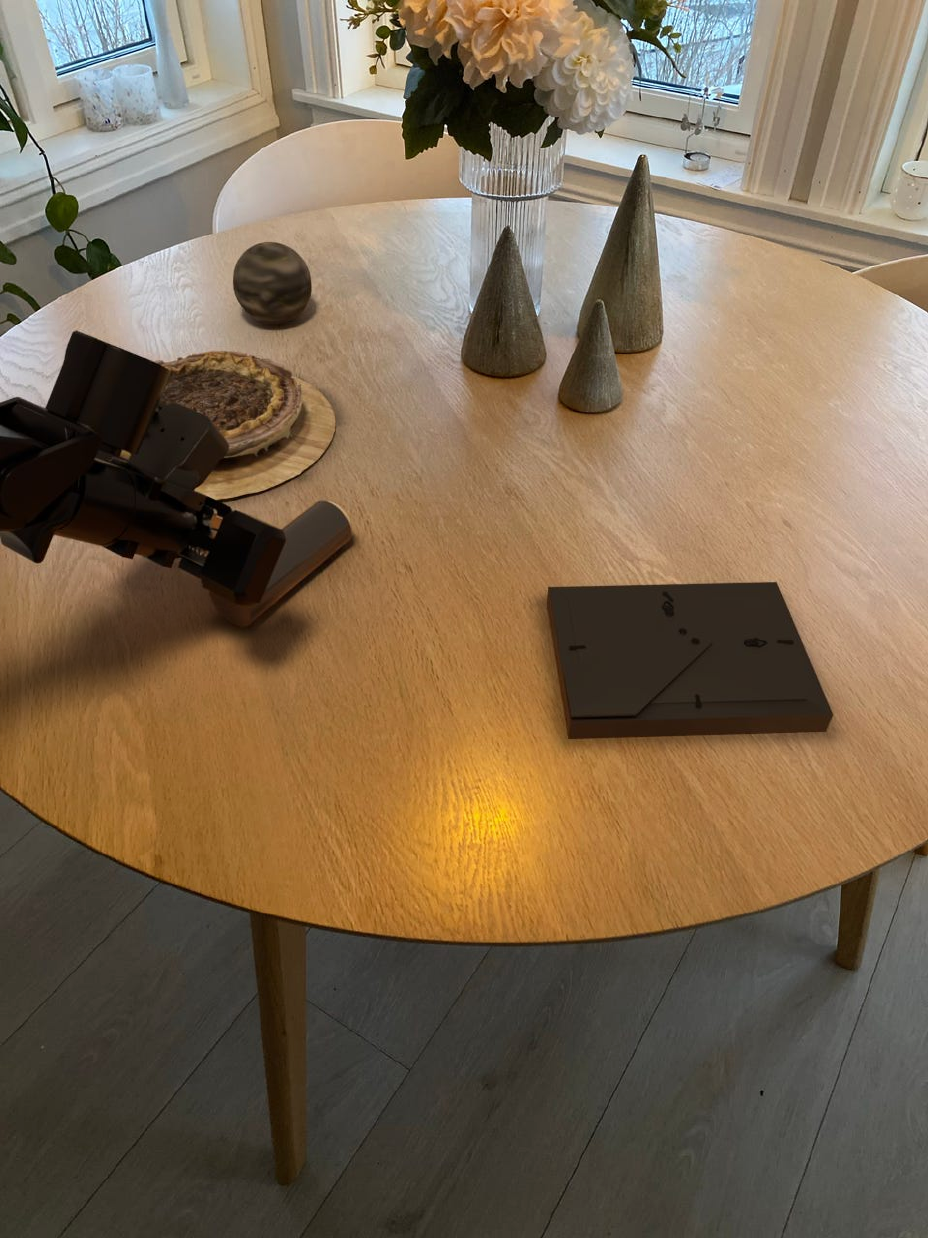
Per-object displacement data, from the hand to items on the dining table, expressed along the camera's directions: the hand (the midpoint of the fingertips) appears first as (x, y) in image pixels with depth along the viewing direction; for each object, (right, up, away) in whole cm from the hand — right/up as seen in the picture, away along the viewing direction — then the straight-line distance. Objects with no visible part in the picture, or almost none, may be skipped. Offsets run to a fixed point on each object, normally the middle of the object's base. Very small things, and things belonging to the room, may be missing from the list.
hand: (238, 543), depth 81 cm
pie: (-9, +14, +26) cm, 31 cm away
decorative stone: (-6, +33, +46) cm, 57 cm away
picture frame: (+37, -10, +1) cm, 39 cm away
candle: (-1, -5, +2) cm, 6 cm away
